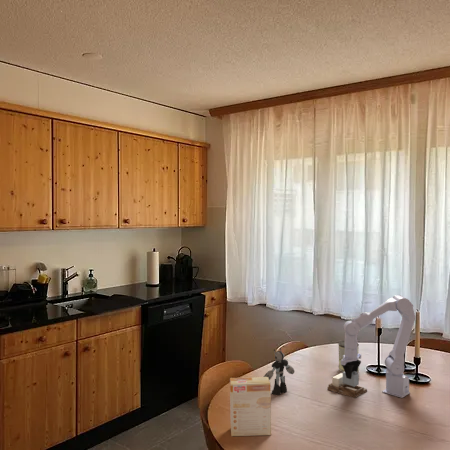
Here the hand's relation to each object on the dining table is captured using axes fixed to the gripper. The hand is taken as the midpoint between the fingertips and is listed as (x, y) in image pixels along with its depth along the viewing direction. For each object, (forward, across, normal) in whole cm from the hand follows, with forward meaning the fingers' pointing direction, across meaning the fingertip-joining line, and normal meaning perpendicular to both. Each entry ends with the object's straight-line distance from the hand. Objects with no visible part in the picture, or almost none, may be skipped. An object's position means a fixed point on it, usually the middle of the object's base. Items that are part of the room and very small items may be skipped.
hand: (351, 377), depth 206 cm
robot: (+7, +24, -23) cm, 34 cm away
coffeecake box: (+7, +61, -6) cm, 62 cm away
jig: (+7, 0, -2) cm, 7 cm away
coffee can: (+7, -25, -17) cm, 31 cm away
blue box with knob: (+3, 0, 0) cm, 3 cm away
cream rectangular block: (+6, 0, -6) cm, 9 cm away
